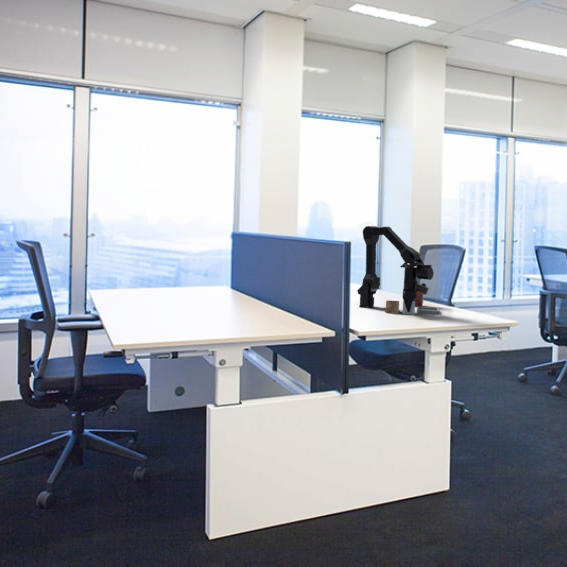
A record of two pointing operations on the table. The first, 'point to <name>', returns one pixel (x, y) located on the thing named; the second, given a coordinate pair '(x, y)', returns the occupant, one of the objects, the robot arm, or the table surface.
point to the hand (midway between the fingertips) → (408, 310)
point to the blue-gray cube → (412, 310)
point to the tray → (427, 310)
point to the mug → (419, 299)
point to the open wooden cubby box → (392, 306)
